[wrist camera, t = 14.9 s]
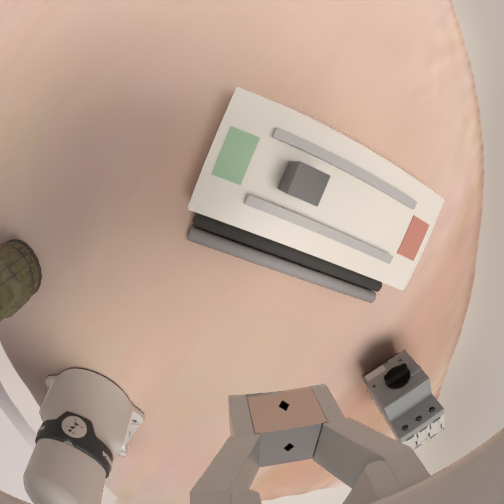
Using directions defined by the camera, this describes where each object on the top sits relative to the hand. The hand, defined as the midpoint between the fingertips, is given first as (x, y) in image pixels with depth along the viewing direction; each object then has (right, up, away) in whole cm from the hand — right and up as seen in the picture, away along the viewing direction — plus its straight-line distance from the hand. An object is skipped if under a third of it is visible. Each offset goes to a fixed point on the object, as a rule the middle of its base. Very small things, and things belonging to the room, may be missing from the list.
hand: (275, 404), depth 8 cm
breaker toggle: (+4, +12, +20) cm, 23 cm away
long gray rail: (+4, +4, +28) cm, 29 cm away
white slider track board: (+8, +12, +26) cm, 30 cm away
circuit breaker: (+22, -15, +37) cm, 45 cm away
